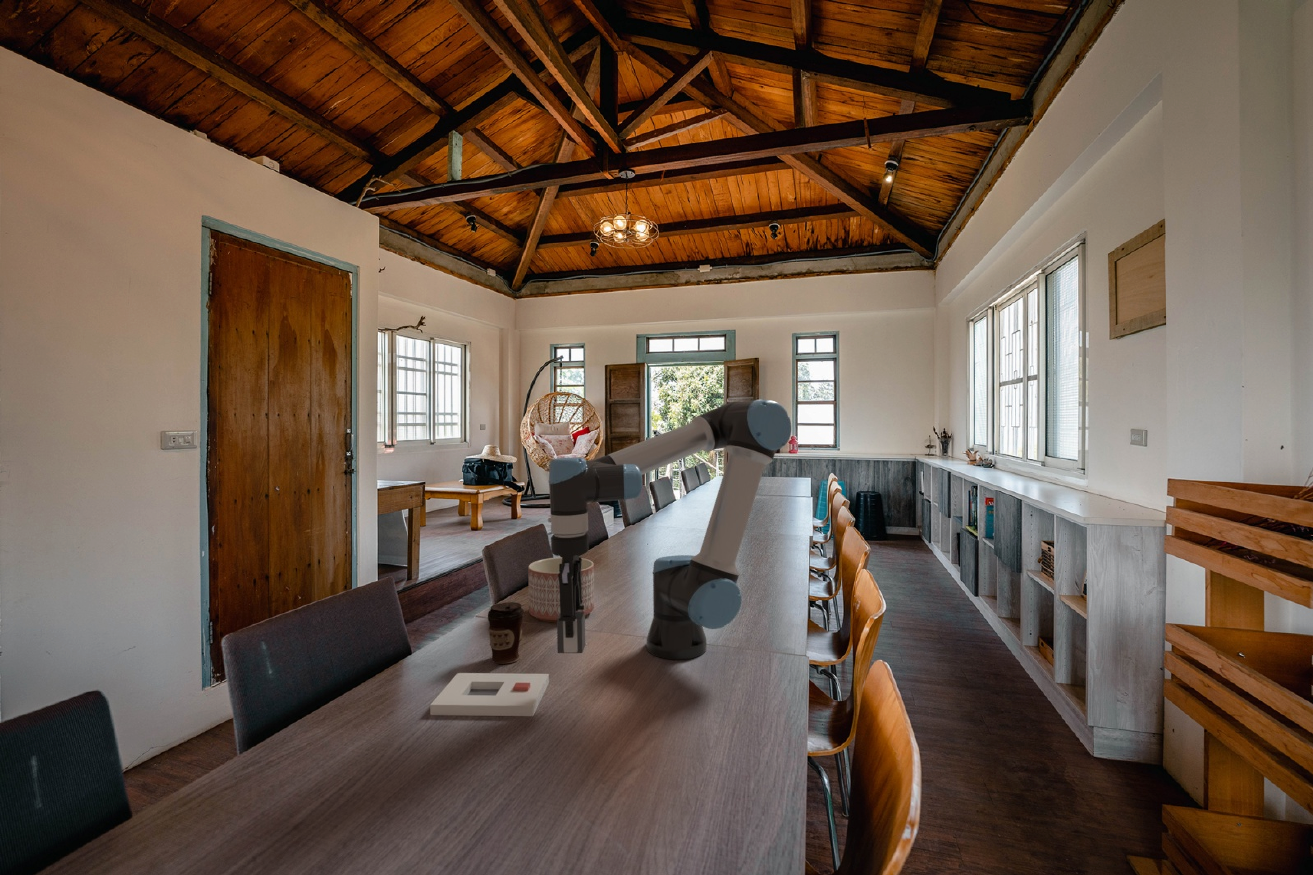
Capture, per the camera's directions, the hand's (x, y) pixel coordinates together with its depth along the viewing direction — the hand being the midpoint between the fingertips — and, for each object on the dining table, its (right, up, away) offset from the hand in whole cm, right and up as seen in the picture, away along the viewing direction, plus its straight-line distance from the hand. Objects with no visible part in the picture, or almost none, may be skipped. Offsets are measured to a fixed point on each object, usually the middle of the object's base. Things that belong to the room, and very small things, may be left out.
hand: (572, 646), depth 115 cm
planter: (-11, -10, +52) cm, 54 cm away
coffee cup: (-19, -11, +19) cm, 29 cm away
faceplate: (-17, -11, 0) cm, 20 cm away
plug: (0, -1, 0) cm, 1 cm away
